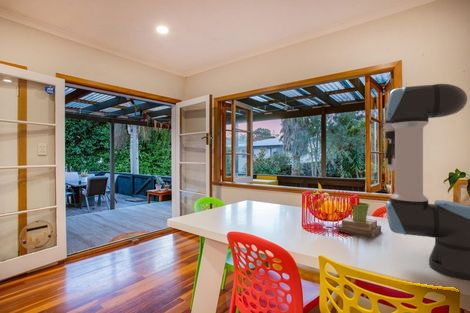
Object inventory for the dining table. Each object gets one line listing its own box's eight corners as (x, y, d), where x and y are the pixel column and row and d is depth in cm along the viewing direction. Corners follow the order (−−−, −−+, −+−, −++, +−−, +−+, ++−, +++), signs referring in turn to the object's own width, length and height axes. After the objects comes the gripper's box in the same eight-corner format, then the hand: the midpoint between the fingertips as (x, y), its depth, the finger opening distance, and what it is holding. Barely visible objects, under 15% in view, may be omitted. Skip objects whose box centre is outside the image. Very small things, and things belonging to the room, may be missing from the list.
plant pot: (370, 219, 134) (370, 203, 134) (369, 223, 126) (369, 206, 126) (350, 217, 139) (350, 201, 139) (348, 221, 131) (348, 204, 131)
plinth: (371, 238, 121) (371, 226, 121) (337, 231, 132) (337, 220, 132) (381, 231, 133) (381, 220, 133) (349, 225, 144) (349, 215, 144)
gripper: (395, 128, 126) (395, 171, 126) (406, 132, 144) (406, 169, 144) (378, 129, 131) (379, 171, 131) (391, 133, 149) (391, 169, 149)
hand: (393, 170), depth 137 cm, fingers open, 13 cm apart
